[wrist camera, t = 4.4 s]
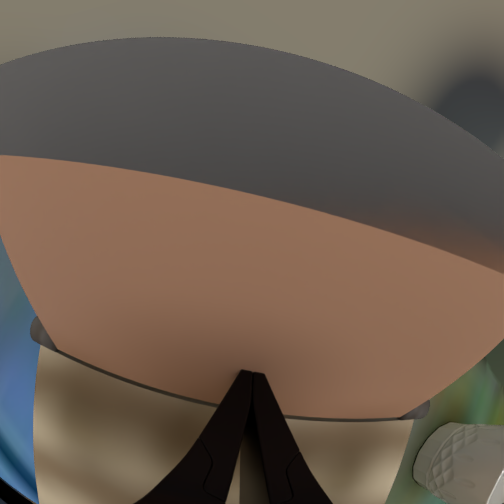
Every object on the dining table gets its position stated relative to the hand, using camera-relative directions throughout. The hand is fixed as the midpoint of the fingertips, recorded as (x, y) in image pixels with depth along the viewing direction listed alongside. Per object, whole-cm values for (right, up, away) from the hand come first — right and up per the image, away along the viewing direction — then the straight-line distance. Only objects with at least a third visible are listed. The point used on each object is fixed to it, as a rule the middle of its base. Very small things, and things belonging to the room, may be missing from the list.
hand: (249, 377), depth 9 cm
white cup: (+17, -14, +6) cm, 23 cm away
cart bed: (-3, -12, +4) cm, 13 cm away
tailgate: (-1, -2, +3) cm, 4 cm away
